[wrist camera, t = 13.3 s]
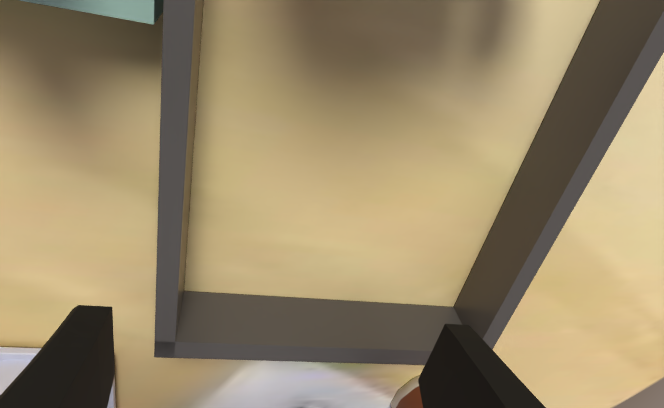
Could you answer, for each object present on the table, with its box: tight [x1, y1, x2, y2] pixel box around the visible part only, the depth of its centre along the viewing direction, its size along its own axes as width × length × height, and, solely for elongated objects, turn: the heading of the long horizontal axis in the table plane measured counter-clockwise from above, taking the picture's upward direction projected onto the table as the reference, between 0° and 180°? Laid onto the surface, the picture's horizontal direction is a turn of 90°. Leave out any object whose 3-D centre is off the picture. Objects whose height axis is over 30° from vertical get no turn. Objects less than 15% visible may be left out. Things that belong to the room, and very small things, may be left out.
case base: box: [154, 0, 664, 365], centre depth 18 cm, size 18×15×3 cm
